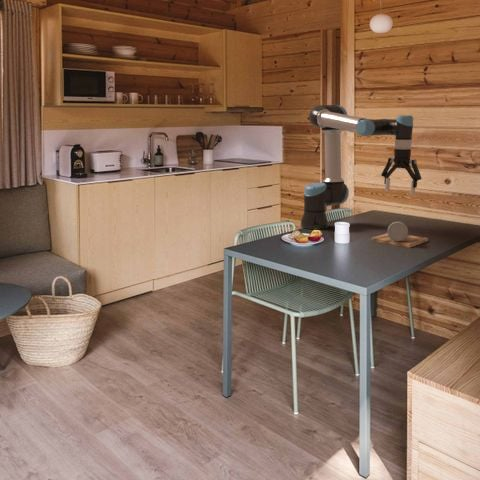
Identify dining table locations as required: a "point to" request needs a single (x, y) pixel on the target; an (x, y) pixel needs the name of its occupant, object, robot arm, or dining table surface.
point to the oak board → (407, 242)
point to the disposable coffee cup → (397, 231)
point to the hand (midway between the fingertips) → (399, 192)
